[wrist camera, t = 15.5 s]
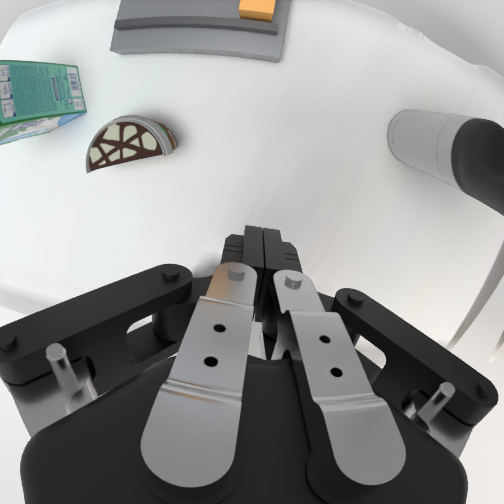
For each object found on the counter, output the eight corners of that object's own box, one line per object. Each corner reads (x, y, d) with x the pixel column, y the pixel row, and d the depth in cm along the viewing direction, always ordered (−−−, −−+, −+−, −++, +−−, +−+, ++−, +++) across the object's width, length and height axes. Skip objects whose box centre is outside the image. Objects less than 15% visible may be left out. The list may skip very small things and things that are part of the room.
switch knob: (276, -3, 27) (278, -15, 23) (271, 23, 29) (273, 13, 25) (245, -7, 27) (244, -19, 23) (240, 19, 29) (238, 9, 25)
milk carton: (49, 132, 39) (-61, 168, 16) (39, 88, 35) (-70, 102, 13) (87, 112, 38) (-31, 134, 16) (77, 65, 34) (-38, 60, 12)
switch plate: (291, -14, 29) (296, -30, 24) (278, 62, 35) (281, 54, 30) (138, -19, 28) (124, -32, 22) (121, 54, 34) (103, 48, 28)
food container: (181, 106, 38) (160, 105, 29) (187, 145, 41) (168, 155, 32) (108, 124, 39) (74, 130, 30) (115, 160, 42) (83, 174, 33)
